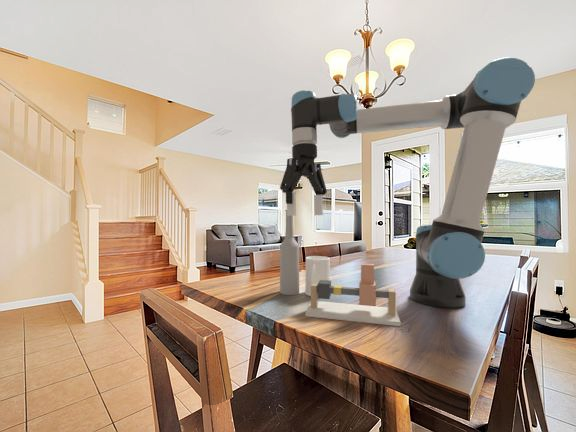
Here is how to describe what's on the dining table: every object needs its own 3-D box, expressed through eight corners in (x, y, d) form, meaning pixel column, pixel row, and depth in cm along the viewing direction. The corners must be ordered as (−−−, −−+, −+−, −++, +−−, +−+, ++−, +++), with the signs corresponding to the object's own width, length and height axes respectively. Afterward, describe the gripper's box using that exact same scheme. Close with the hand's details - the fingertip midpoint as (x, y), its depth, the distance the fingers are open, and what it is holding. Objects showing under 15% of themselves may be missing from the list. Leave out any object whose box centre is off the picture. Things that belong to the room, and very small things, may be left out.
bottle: (275, 292, 92) (275, 209, 92) (290, 288, 96) (289, 210, 96) (289, 296, 87) (288, 209, 87) (303, 292, 91) (303, 209, 91)
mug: (323, 301, 82) (323, 262, 82) (297, 298, 85) (297, 260, 85) (333, 291, 93) (333, 256, 93) (309, 288, 96) (310, 255, 96)
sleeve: (374, 300, 73) (375, 263, 73) (375, 306, 68) (375, 266, 68) (359, 298, 74) (359, 262, 74) (359, 304, 69) (359, 265, 69)
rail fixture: (395, 311, 74) (395, 282, 74) (400, 326, 64) (400, 292, 64) (312, 303, 80) (312, 276, 80) (305, 316, 70) (305, 285, 70)
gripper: (317, 154, 94) (318, 215, 94) (266, 139, 75) (268, 216, 75) (336, 150, 89) (337, 214, 89) (286, 133, 70) (288, 215, 70)
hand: (305, 215), depth 82 cm, fingers open, 13 cm apart
